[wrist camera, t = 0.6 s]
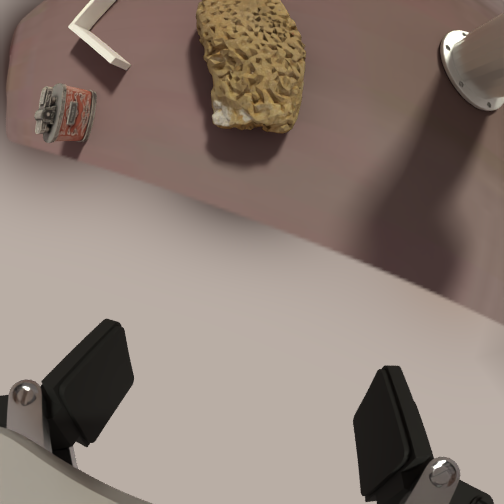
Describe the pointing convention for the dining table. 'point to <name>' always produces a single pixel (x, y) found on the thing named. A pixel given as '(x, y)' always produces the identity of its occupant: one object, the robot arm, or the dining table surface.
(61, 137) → the lighter
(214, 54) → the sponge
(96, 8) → the box
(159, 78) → the dining table surface
